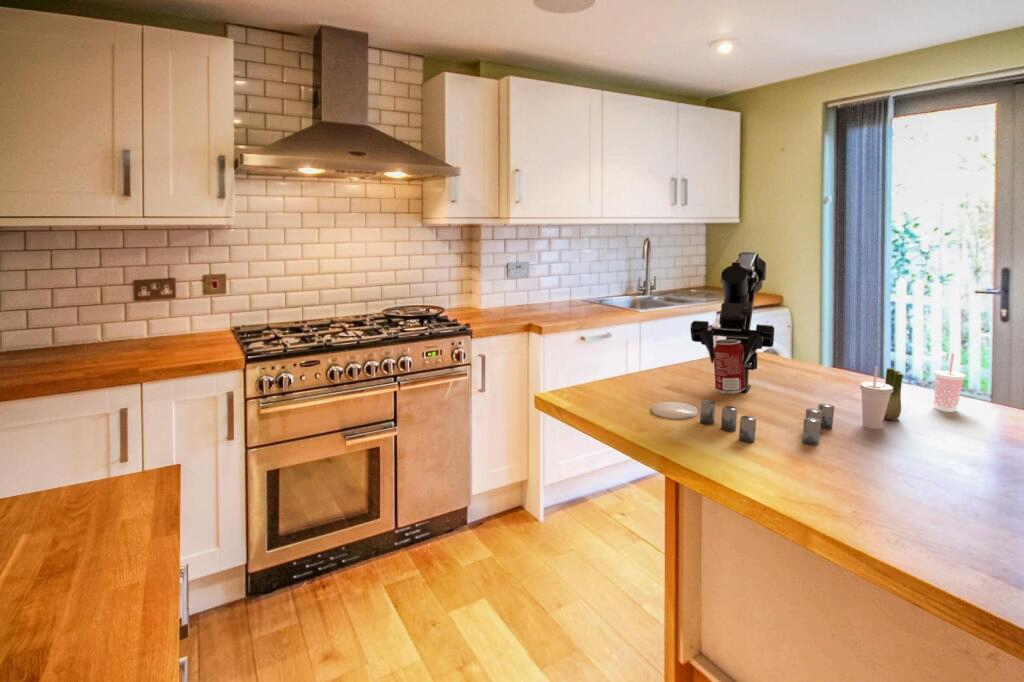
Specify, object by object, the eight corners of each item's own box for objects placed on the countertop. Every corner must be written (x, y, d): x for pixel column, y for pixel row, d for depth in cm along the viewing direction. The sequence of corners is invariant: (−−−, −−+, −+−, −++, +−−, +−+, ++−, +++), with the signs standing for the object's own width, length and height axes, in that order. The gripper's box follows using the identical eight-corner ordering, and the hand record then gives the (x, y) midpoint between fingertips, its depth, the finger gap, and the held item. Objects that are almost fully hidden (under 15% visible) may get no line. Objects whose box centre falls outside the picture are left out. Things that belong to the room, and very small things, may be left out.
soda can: (743, 395, 140) (741, 343, 138) (712, 394, 143) (710, 344, 141) (747, 387, 146) (745, 338, 144) (718, 386, 149) (716, 338, 147)
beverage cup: (933, 403, 155) (940, 349, 152) (962, 408, 150) (970, 353, 148) (927, 408, 150) (934, 353, 148) (957, 414, 146) (965, 357, 143)
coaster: (659, 402, 158) (659, 399, 158) (702, 409, 152) (702, 406, 152) (645, 414, 149) (645, 411, 149) (690, 422, 143) (690, 418, 143)
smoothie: (849, 422, 142) (856, 363, 139) (875, 420, 142) (882, 362, 139) (867, 431, 136) (874, 371, 133) (895, 430, 136) (902, 370, 133)
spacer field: (698, 420, 144) (699, 400, 143) (829, 424, 140) (831, 403, 139) (709, 441, 131) (710, 419, 130) (853, 446, 127) (856, 424, 126)
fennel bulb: (899, 423, 140) (906, 373, 138) (875, 420, 143) (881, 370, 140) (899, 416, 145) (905, 367, 143) (875, 413, 148) (881, 365, 145)
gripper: (693, 287, 147) (683, 341, 140) (777, 290, 140) (772, 347, 132) (696, 314, 156) (687, 366, 148) (775, 319, 148) (770, 374, 141)
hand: (727, 363), depth 142 cm, fingers closed on soda can, 7 cm apart
